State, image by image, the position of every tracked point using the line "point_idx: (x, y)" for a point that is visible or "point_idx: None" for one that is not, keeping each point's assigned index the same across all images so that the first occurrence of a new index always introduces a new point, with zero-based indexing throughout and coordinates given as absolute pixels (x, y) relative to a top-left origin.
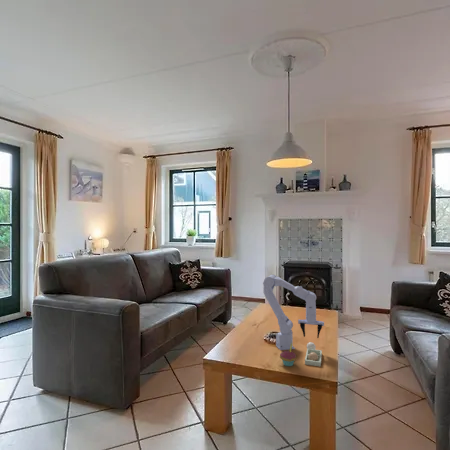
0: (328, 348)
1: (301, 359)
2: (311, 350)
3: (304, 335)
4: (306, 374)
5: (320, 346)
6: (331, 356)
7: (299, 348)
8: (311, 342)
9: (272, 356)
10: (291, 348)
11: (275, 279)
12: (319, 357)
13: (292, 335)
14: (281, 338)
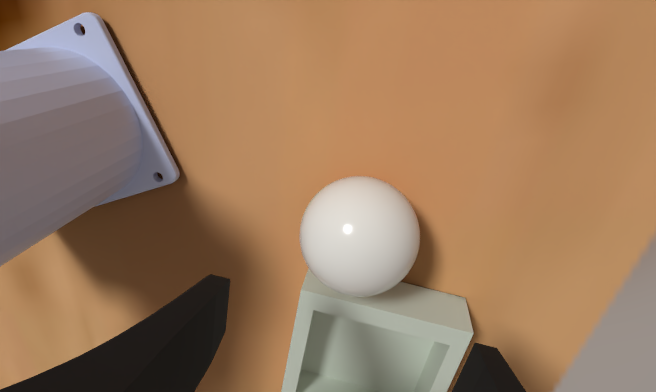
0: (647, 105)
1: (250, 375)
2: (349, 313)
3: (208, 354)
4: None
5: (543, 36)
6: (565, 330)
7: (229, 142)
8: (359, 269)
9: (22, 325)
10: (137, 185)
11: None
12: None
13: (16, 202)
14: None
